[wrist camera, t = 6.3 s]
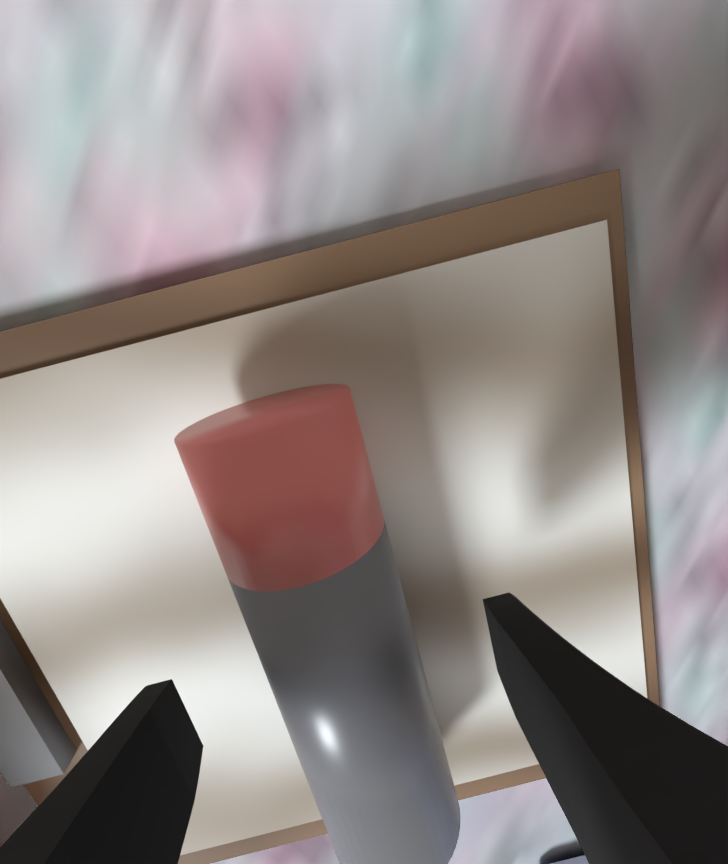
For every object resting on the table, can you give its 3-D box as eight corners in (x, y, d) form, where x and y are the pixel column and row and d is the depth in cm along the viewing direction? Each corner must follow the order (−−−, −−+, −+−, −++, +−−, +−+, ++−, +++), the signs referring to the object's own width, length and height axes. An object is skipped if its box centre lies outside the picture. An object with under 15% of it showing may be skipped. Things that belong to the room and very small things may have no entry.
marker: (419, 752, 15) (494, 857, 12) (323, 823, 14) (379, 963, 11) (313, 379, 11) (381, 390, 8) (168, 427, 10) (183, 461, 7)
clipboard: (650, 732, 16) (677, 768, 15) (103, 871, 16) (84, 919, 15) (604, 175, 11) (639, 159, 10) (-201, 386, 11) (-269, 397, 10)
